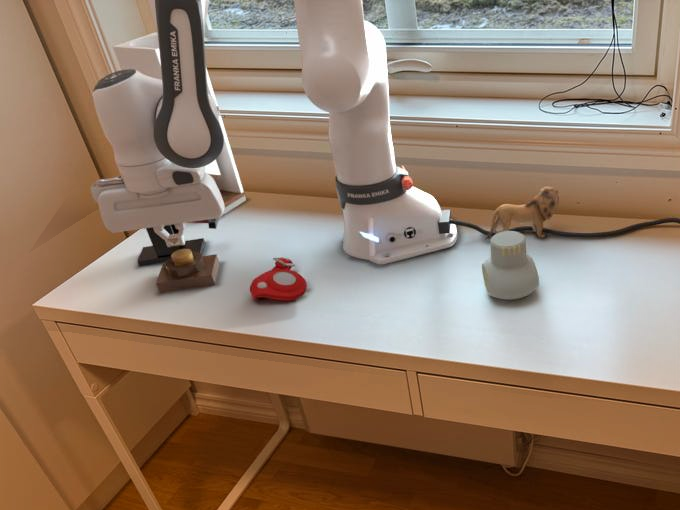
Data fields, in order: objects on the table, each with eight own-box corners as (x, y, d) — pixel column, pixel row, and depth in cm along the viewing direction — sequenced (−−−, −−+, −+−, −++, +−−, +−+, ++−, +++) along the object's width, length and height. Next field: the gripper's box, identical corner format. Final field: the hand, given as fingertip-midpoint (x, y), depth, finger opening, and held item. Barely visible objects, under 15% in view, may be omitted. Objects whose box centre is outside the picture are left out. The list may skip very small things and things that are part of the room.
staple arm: (219, 220, 140) (217, 208, 138) (216, 231, 136) (215, 219, 135) (154, 218, 137) (152, 206, 136) (149, 229, 133) (147, 218, 132)
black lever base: (205, 243, 143) (189, 198, 137) (201, 257, 138) (185, 211, 132) (145, 252, 142) (126, 207, 136) (139, 266, 137) (119, 221, 131)
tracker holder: (316, 288, 123) (260, 296, 118) (314, 307, 126) (259, 316, 121) (291, 248, 130) (237, 254, 124) (289, 267, 133) (236, 274, 127)
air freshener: (542, 303, 116) (540, 250, 110) (493, 311, 115) (489, 258, 109) (526, 270, 125) (524, 220, 119) (481, 278, 124) (477, 227, 118)
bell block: (220, 264, 135) (213, 245, 133) (215, 285, 129) (208, 266, 127) (167, 272, 134) (159, 253, 132) (159, 293, 128) (151, 274, 126)
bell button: (195, 255, 131) (192, 247, 130) (192, 265, 128) (189, 256, 127) (176, 258, 131) (172, 250, 130) (172, 268, 128) (169, 259, 127)
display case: (175, 213, 155) (112, 46, 134) (209, 193, 163) (154, 32, 141) (213, 220, 151) (155, 49, 129) (246, 200, 158) (196, 34, 137)
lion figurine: (554, 223, 138) (554, 180, 133) (563, 235, 134) (563, 191, 129) (482, 235, 136) (479, 192, 131) (489, 248, 132) (485, 204, 127)
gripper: (81, 188, 115) (113, 261, 124) (207, 171, 117) (231, 244, 126) (91, 173, 120) (121, 245, 129) (212, 158, 122) (234, 229, 131)
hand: (176, 244), depth 127 cm, fingers closed
